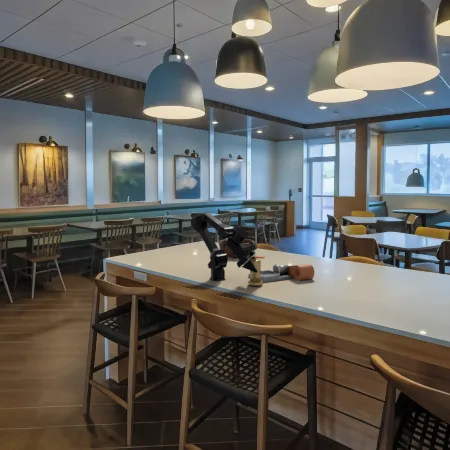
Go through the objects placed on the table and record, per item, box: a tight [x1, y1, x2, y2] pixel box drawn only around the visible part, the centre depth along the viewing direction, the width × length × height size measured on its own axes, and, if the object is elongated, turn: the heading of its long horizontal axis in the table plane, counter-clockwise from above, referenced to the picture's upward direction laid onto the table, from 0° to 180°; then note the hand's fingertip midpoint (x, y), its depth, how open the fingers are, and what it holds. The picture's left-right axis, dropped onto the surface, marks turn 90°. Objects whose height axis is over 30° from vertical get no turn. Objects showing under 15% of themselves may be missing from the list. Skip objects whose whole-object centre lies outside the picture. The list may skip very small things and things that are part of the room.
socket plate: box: [247, 263, 295, 283], centre depth 206 cm, size 20×14×7 cm
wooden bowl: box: [218, 238, 255, 259], centre depth 270 cm, size 25×25×10 cm
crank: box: [288, 263, 315, 281], centre depth 208 cm, size 20×8×8 cm, turn 23°
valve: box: [247, 255, 265, 287], centre depth 190 cm, size 8×7×14 cm
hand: (258, 271), depth 190 cm, fingers closed on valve, 5 cm apart
